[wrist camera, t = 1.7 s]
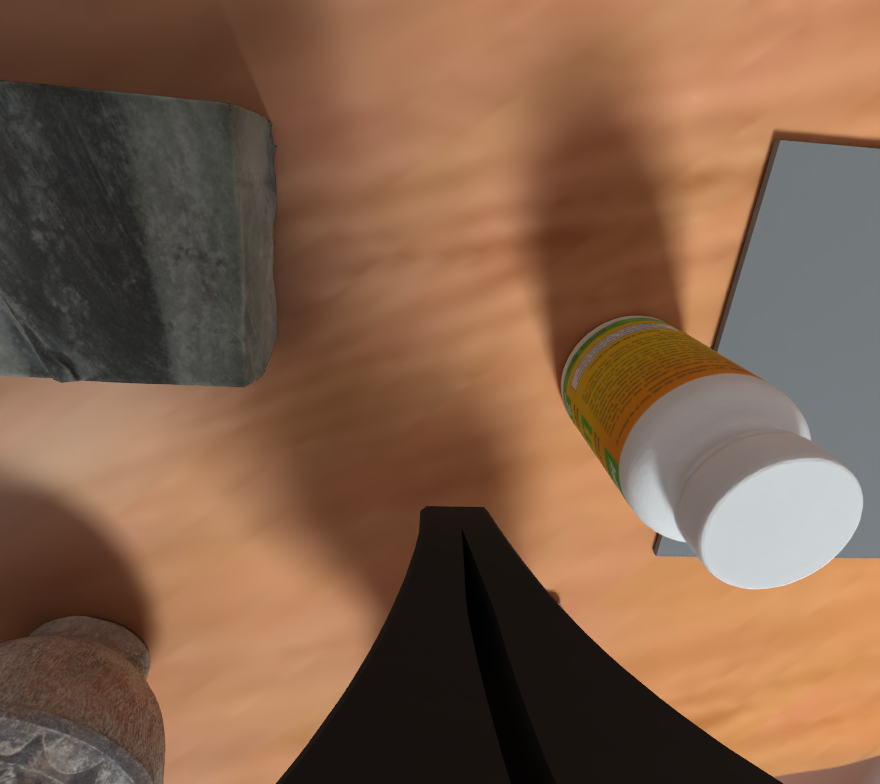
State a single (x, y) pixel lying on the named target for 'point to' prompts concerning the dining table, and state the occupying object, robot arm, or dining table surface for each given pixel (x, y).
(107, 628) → the pottery
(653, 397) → the supplement bottle
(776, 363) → the mat
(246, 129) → the stone block
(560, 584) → the dining table surface
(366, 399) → the dining table surface
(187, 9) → the dining table surface
